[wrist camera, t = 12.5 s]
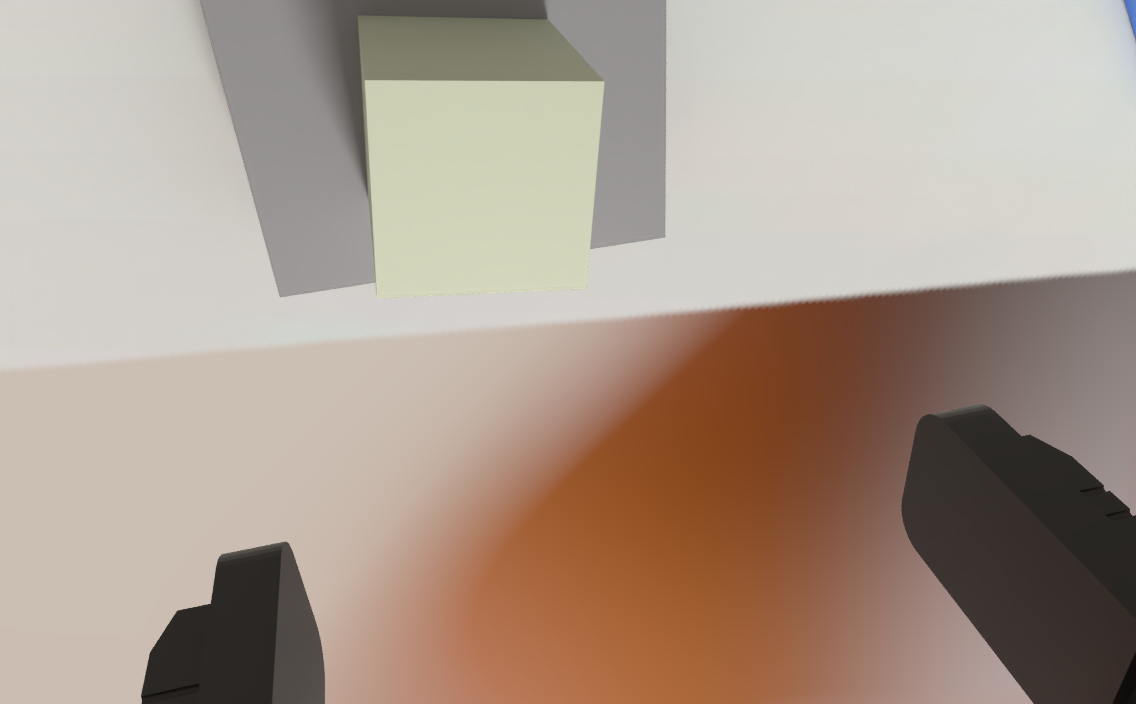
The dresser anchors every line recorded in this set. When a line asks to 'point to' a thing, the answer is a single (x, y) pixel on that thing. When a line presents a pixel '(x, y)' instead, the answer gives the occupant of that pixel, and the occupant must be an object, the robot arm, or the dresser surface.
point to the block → (477, 154)
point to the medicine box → (1132, 12)
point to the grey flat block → (336, 123)
